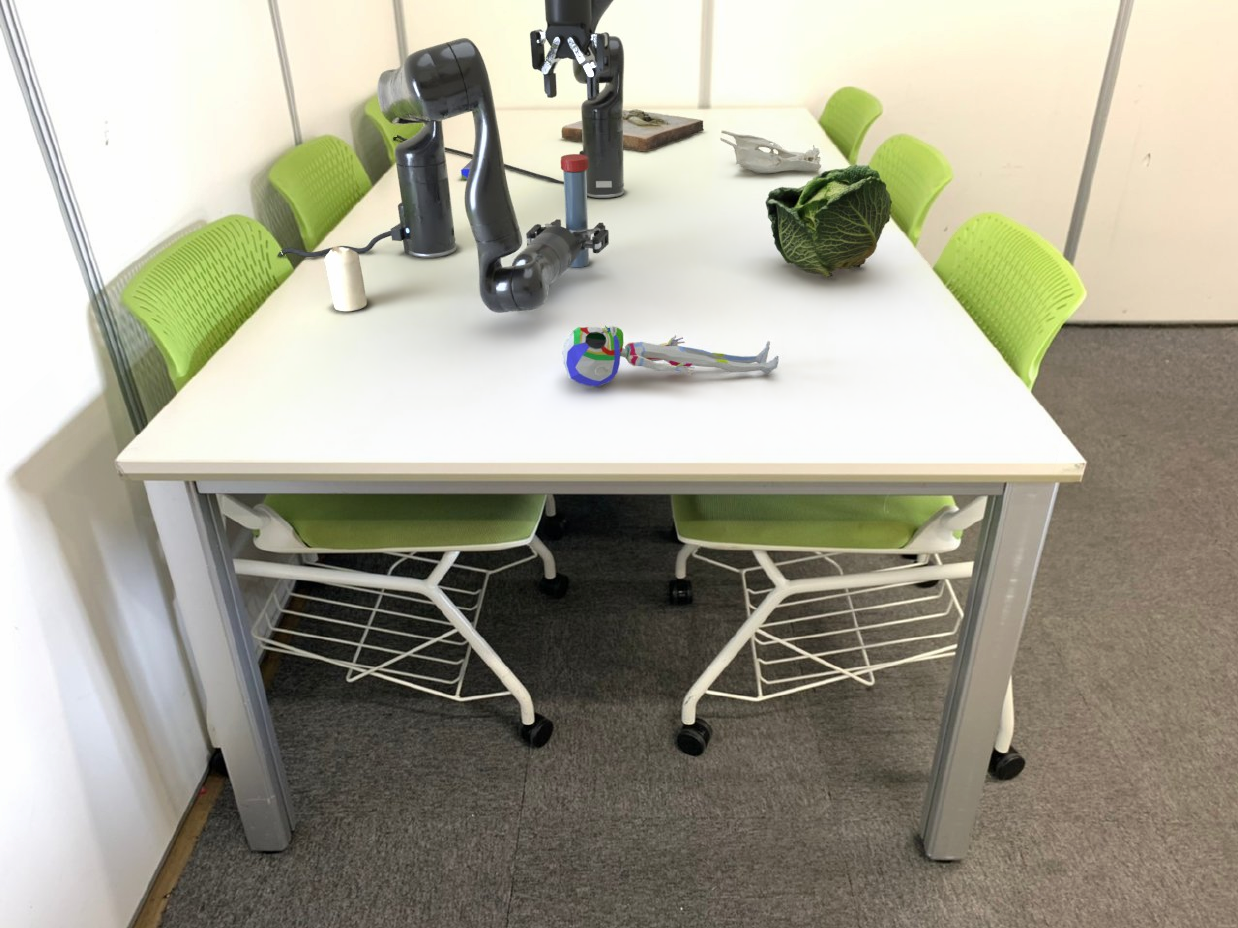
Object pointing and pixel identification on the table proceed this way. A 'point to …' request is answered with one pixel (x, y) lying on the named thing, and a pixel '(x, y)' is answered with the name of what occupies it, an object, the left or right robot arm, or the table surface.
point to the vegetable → (830, 219)
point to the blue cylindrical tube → (576, 208)
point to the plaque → (645, 129)
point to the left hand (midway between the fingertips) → (580, 226)
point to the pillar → (466, 171)
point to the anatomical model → (770, 155)
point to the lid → (574, 163)
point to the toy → (644, 356)
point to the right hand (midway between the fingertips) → (571, 98)
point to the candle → (345, 279)
